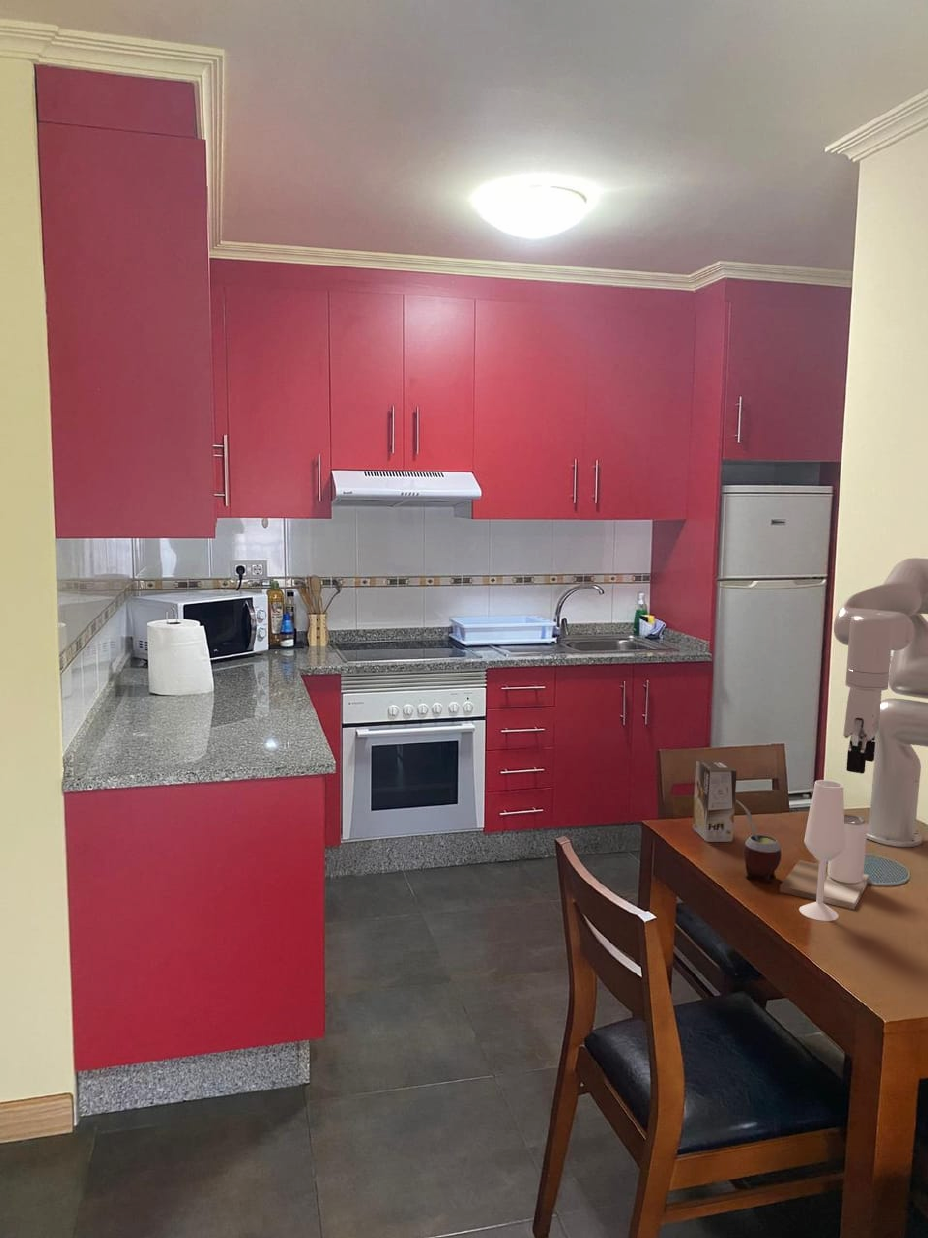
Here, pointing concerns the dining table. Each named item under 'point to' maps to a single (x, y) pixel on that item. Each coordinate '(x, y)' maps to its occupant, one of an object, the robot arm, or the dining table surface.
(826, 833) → the champagne flute
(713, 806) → the coffee box
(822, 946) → the dining table surface
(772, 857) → the mate gourd
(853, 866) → the can
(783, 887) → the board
